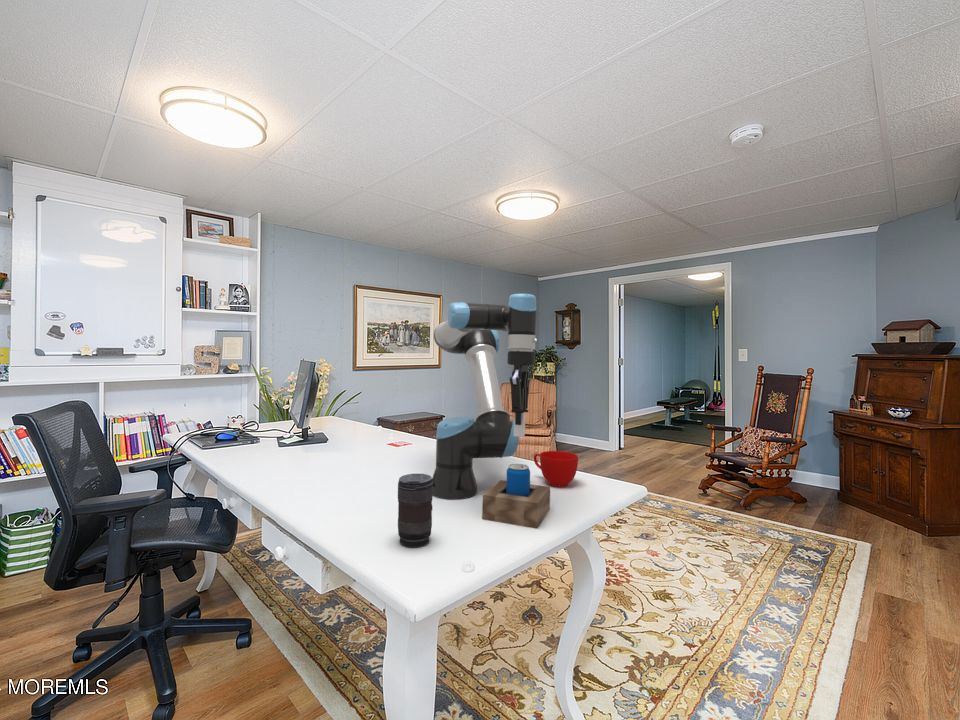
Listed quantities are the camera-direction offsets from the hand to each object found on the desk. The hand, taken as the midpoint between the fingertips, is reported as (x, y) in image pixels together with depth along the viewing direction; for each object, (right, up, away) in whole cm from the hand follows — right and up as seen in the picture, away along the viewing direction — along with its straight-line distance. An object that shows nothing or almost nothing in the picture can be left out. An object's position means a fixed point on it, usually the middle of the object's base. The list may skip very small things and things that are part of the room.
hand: (519, 436), depth 121 cm
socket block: (-1, -22, 0) cm, 22 cm away
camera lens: (-26, -22, -18) cm, 39 cm away
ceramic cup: (+15, -22, +31) cm, 41 cm away
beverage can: (0, -21, +1) cm, 21 cm away
